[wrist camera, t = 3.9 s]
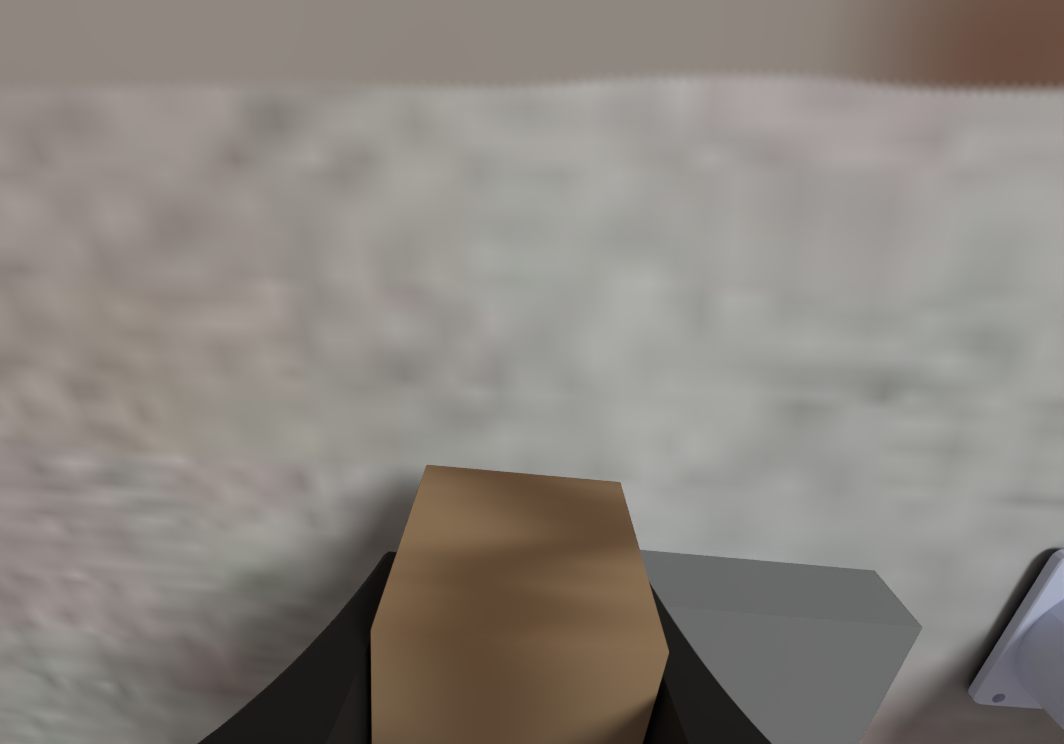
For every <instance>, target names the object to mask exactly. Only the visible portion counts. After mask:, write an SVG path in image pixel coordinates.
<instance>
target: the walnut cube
mask: <svg viewBox="0 0 1064 744" xmlns="http://www.w3.org/2000/svg"><path fill="white" fill-rule="evenodd" d="M668 655H669V650H668V646H667V643H666V639H665V636H664V632H663V629H662V625H661V622H660V618H659V615H658V611H657V608H656V605H655V601H654V598H653V594H652V591H651V587H650V584H649V580H648V577H647V573H646V570H645V566H644V563H643V559H642V556H641V552H640V549H639V546H638V542H637V539H636V535H635V532H634V528H633V525H632V521H631V518H630V514H629V511H628V507H627V504H626V500H625V497H624V493H623V490H622V487H621V483H620V482H612V481H600V480H589V479H578V478H567V477H556V476H545V475H534V474H523V473H512V472H501V471H490V470H479V469H467V468H456V467H445V466H434V465H426V468H425V471H424V474H423V477H422V480H421V483H420V486H419V489H418V492H417V495H416V497H415V500H414V503H413V506H412V509H411V512H410V515H409V518H408V521H407V524H406V527H405V530H404V533H403V536H402V539H401V542H400V545H399V548H398V551H397V554H396V557H395V560H394V563H393V566H392V569H391V572H390V575H389V578H388V581H387V583H386V586H385V589H384V592H383V595H382V598H381V601H380V604H379V607H378V610H377V613H376V616H375V619H374V622H373V625H372V628H371V700H372V744H643V741H644V737H645V734H646V730H647V727H648V724H649V720H650V717H651V713H652V710H653V706H654V703H655V700H656V696H657V693H658V689H659V686H660V682H661V679H662V675H663V672H664V669H665V665H666V662H667V658H668Z"/></svg>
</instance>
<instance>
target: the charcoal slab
mask: <svg viewBox="0 0 1064 744" xmlns="http://www.w3.org/2000/svg"><path fill="white" fill-rule="evenodd" d="M640 552H641V556H642V559H643V563H644V566H645V570H646V573H647V577H648V580H649V582H650V584H651V585H652V587H653V589H654V590H655V592H656V593H657V595H658V597H659V598H660V600H661V601H662V603H663V605H664V606H665V608H666V609H667V611H668V612H669V614H670V615H671V617H672V618H673V620H674V622H675V623H676V625H677V626H678V627H679V629H680V630H681V632H682V633H683V635H684V636H685V638H686V639H687V640H688V642H689V643H690V645H691V646H692V648H693V649H694V650H695V652H696V653H697V655H698V656H699V657H700V659H701V660H702V661H703V663H704V664H705V666H706V667H707V668H708V669H709V671H710V672H711V673H712V675H713V676H714V677H715V678H716V680H717V681H718V682H719V684H720V685H721V686H722V687H723V689H724V690H725V691H726V692H727V694H728V695H729V696H730V697H731V698H732V700H733V701H734V702H735V703H736V704H737V706H738V707H739V708H740V709H741V710H742V711H743V713H744V714H745V715H746V716H747V717H748V718H749V719H750V720H751V722H752V723H753V724H754V725H755V726H756V727H757V728H758V729H759V730H760V732H761V733H762V734H763V735H764V736H765V737H766V738H767V739H768V740H769V741H770V742H771V743H772V744H859V743H860V741H861V739H862V737H863V735H864V733H865V732H866V730H867V728H868V726H869V724H870V722H871V721H872V719H873V717H874V715H875V713H876V711H877V710H878V708H879V706H880V704H881V702H882V701H883V699H884V697H885V695H886V693H887V691H888V690H889V688H890V686H891V684H892V682H893V680H894V679H895V677H896V675H897V673H898V671H899V669H900V668H901V666H902V664H903V662H904V660H905V658H906V657H907V655H908V653H909V651H910V649H911V647H912V646H913V644H914V642H915V640H916V638H917V636H918V635H919V633H920V631H921V629H922V626H921V625H920V624H919V623H918V622H917V620H916V619H915V618H914V617H913V616H912V614H911V613H910V612H909V611H908V610H907V609H906V607H905V606H904V605H903V604H902V603H901V601H900V600H899V599H898V598H897V597H896V595H895V594H894V593H893V592H892V591H891V590H890V588H889V587H888V586H887V585H886V584H885V582H884V581H883V580H882V579H881V578H880V577H879V575H878V574H877V573H876V572H875V571H872V570H861V569H849V568H838V567H827V566H815V565H804V564H793V563H781V562H770V561H759V560H748V559H736V558H725V557H714V556H702V555H691V554H680V553H668V552H657V551H646V550H640Z"/></svg>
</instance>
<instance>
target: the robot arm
mask: <svg viewBox="0 0 1064 744" xmlns="http://www.w3.org/2000/svg"><path fill="white" fill-rule="evenodd" d="M396 554H397V552H388V553H386V554H385V555H384V556H383V557H382V559H381V560H380V562H379V563H378V565H377V566H376V567H375V569H374V570H373V571H372V573H371V574H370V576H369V577H368V578H367V580H366V581H365V582H364V583H363V585H362V586H361V587H360V589H359V590H358V591H357V592H356V594H355V595H354V596H353V597H352V598H351V600H350V601H349V602H348V603H347V604H346V606H345V607H344V608H343V609H342V610H341V612H340V613H339V614H338V615H337V616H336V617H335V619H334V620H333V621H332V622H331V623H330V624H329V625H328V626H327V627H326V629H325V630H324V631H323V632H322V633H321V634H320V635H319V636H318V637H317V638H316V639H315V640H314V641H313V643H312V644H311V645H310V646H309V647H308V648H307V649H306V650H305V651H304V652H303V653H302V654H301V655H300V656H299V657H298V658H297V659H296V660H295V661H294V662H293V663H292V664H291V665H290V666H289V667H288V668H287V669H286V670H285V671H284V672H283V673H282V674H280V675H279V676H278V677H277V678H276V679H275V680H274V681H273V682H272V683H271V684H270V685H269V686H268V687H266V688H265V689H264V690H263V691H262V692H261V693H260V694H258V695H257V696H256V697H255V698H254V699H253V700H251V701H250V702H249V703H248V704H247V705H246V706H244V707H243V708H242V709H241V710H240V711H239V712H237V713H236V714H235V715H234V716H233V717H231V718H230V719H229V720H228V721H226V722H225V723H224V724H223V725H221V726H220V727H219V728H218V729H216V730H215V731H214V732H212V733H211V734H210V735H208V736H207V737H206V738H204V739H203V740H202V741H200V742H199V743H198V744H372V700H371V628H372V625H373V622H374V619H375V616H376V613H377V610H378V607H379V604H380V601H381V598H382V595H383V592H384V589H385V586H386V583H387V581H388V578H389V575H390V572H391V569H392V566H393V563H394V560H395V557H396ZM649 584H650V582H649ZM650 587H651V591H652V594H653V598H654V601H655V605H656V608H657V611H658V615H659V618H660V622H661V625H662V629H663V632H664V636H665V639H666V643H667V646H668V650H669V655H668V658H667V662H666V665H665V669H664V672H663V675H662V679H661V682H660V686H659V689H658V693H657V696H656V700H655V703H654V706H653V710H652V713H651V717H650V720H649V724H648V727H647V730H646V734H645V737H644V741H643V744H772V743H771V742H770V741H769V740H768V739H767V738H766V737H765V736H764V735H763V734H762V733H761V732H760V730H759V729H758V728H757V727H756V726H755V725H754V724H753V723H752V722H751V720H750V719H749V718H748V717H747V716H746V715H745V714H744V713H743V711H742V710H741V709H740V708H739V707H738V706H737V704H736V703H735V702H734V701H733V700H732V698H731V697H730V696H729V695H728V694H727V692H726V691H725V690H724V689H723V687H722V686H721V685H720V684H719V682H718V681H717V680H716V678H715V677H714V676H713V675H712V673H711V672H710V671H709V669H708V668H707V667H706V666H705V664H704V663H703V661H702V660H701V659H700V657H699V656H698V655H697V653H696V652H695V650H694V649H693V648H692V646H691V645H690V643H689V642H688V640H687V639H686V638H685V636H684V635H683V633H682V632H681V630H680V629H679V627H678V626H677V625H676V623H675V622H674V620H673V618H672V617H671V615H670V614H669V612H668V611H667V609H666V608H665V606H664V605H663V603H662V601H661V600H660V598H659V597H658V595H657V593H656V592H655V590H654V589H653V587H652V585H651V584H650ZM968 693H969V695H970V696H971V698H972V699H973V700H974V701H975V702H976V703H977V704H982V705H993V706H1007V707H1021V708H1035V709H1044V710H1045V711H1046V712H1047V713H1048V714H1049V715H1050V716H1051V717H1052V718H1053V719H1054V720H1055V721H1056V723H1057V724H1058V725H1059V726H1060V727H1061V728H1062V729H1063V730H1064V549H1061V550H1058V551H1056V552H1055V553H1053V554H1052V555H1051V557H1050V558H1049V560H1048V561H1047V563H1046V565H1045V566H1044V568H1043V569H1042V571H1041V573H1040V574H1039V576H1038V577H1037V579H1036V581H1035V582H1034V584H1033V586H1032V587H1031V589H1030V590H1029V592H1028V594H1027V595H1026V597H1025V598H1024V600H1023V602H1022V603H1021V605H1020V607H1019V608H1018V610H1017V611H1016V613H1015V615H1014V616H1013V618H1012V619H1011V621H1010V623H1009V624H1008V626H1007V628H1006V629H1005V631H1004V632H1003V634H1002V636H1001V637H1000V639H999V640H998V642H997V644H996V645H995V647H994V649H993V650H992V652H991V653H990V655H989V657H988V658H987V660H986V661H985V663H984V665H983V666H982V668H981V670H980V671H979V673H978V674H977V676H976V678H975V679H974V681H973V682H972V684H971V686H970V687H969V690H968Z"/></svg>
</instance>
